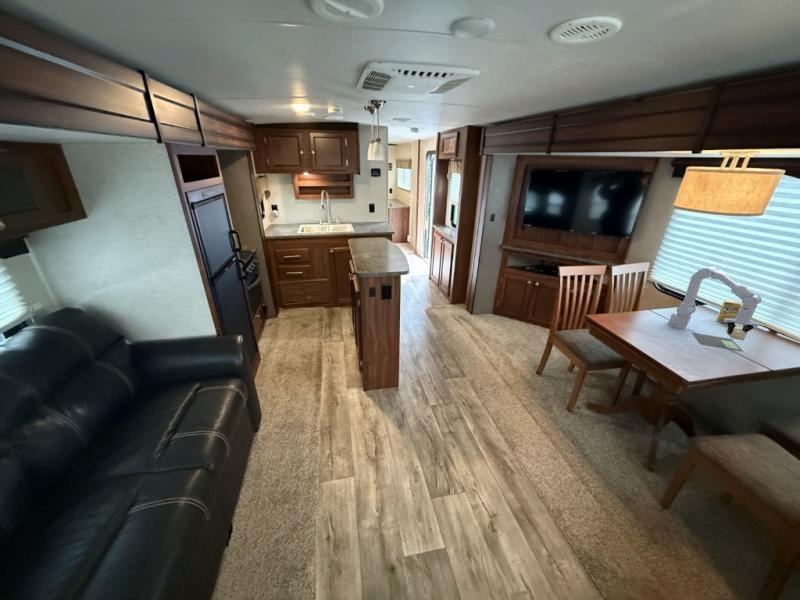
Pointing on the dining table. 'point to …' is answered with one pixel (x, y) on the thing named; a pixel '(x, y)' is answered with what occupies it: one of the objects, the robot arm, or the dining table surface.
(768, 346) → the dining table surface
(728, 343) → the rubber mat
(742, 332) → the maple block
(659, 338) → the dining table surface
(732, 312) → the candy box
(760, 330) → the dining table surface
